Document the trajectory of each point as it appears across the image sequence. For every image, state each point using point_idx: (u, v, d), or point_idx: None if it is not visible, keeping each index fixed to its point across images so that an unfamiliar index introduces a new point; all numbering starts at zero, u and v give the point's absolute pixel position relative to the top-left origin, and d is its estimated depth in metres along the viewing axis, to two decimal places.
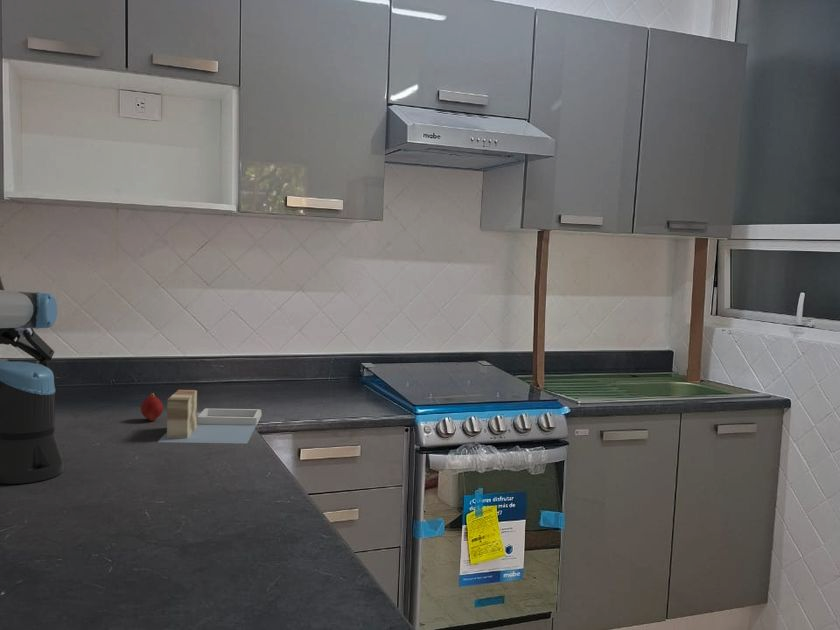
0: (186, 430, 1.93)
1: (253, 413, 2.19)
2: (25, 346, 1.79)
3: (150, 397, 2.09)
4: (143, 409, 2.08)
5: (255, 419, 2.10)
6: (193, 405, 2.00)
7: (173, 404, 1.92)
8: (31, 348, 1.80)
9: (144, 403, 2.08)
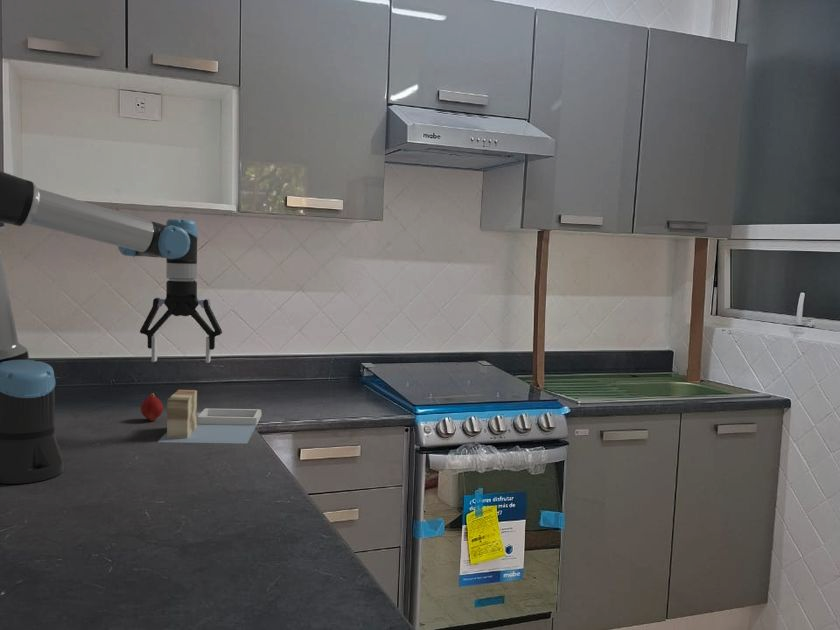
0: (186, 430, 1.93)
1: (253, 413, 2.19)
2: (200, 318, 1.96)
3: (150, 397, 2.09)
4: (143, 409, 2.08)
5: (255, 419, 2.10)
6: (193, 405, 2.00)
7: (173, 404, 1.92)
8: (204, 323, 1.96)
9: (144, 403, 2.08)
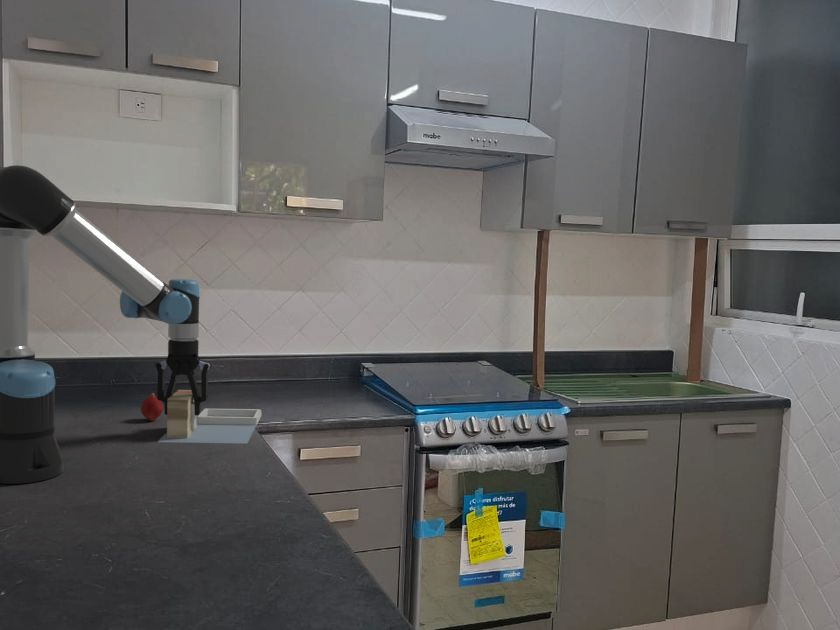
0: (186, 430, 1.93)
1: (253, 413, 2.19)
2: (194, 382, 1.97)
3: (150, 397, 2.09)
4: (143, 409, 2.08)
5: (255, 419, 2.10)
6: None
7: (173, 404, 1.92)
8: (196, 387, 1.98)
9: (144, 403, 2.08)
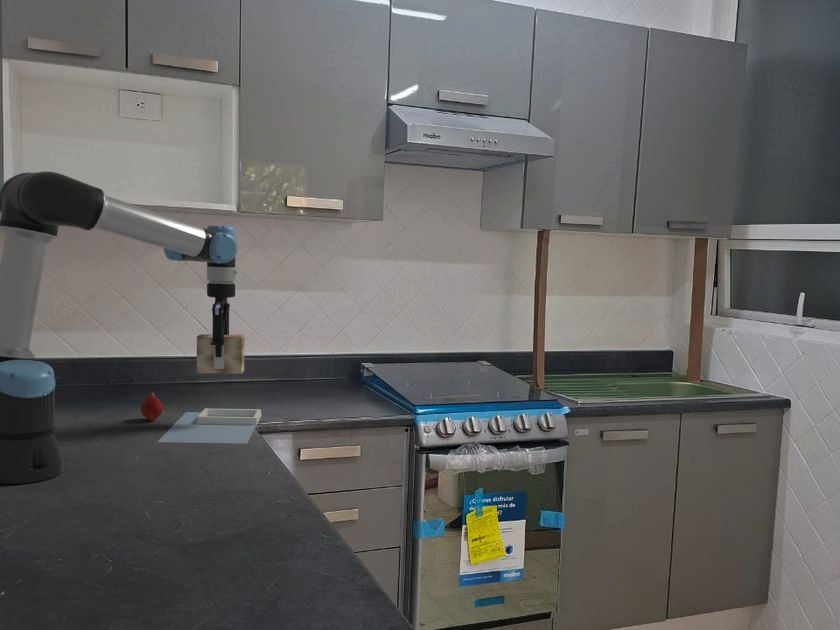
0: (197, 365, 2.06)
1: (253, 413, 2.19)
2: None
3: (150, 397, 2.09)
4: (143, 409, 2.08)
5: (255, 419, 2.10)
6: (224, 348, 2.06)
7: None
8: None
9: (144, 403, 2.08)
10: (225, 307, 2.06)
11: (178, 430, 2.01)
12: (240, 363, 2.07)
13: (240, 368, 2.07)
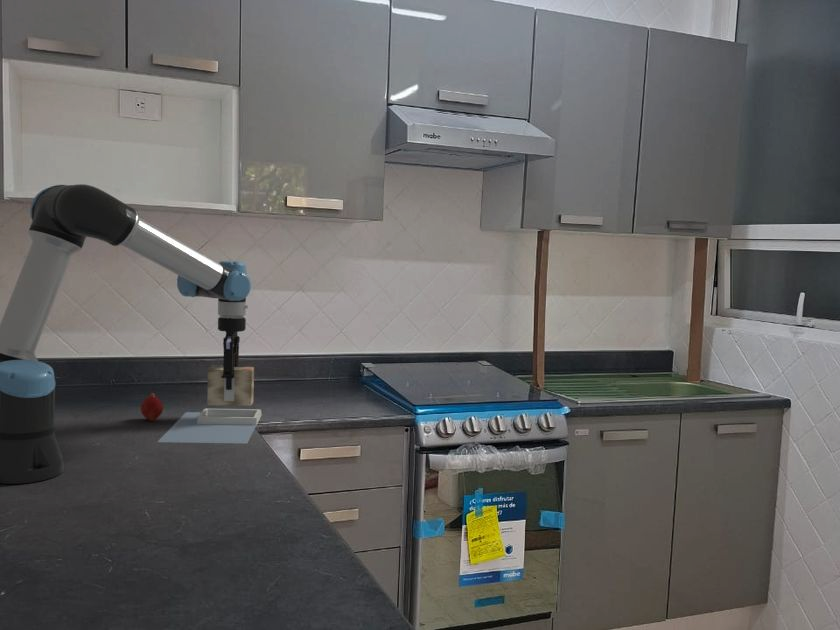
0: None
1: (253, 413, 2.19)
2: None
3: (150, 397, 2.09)
4: (143, 409, 2.08)
5: (255, 419, 2.10)
6: None
7: None
8: None
9: (144, 403, 2.08)
10: (235, 341, 2.11)
11: (178, 430, 2.01)
12: (250, 395, 2.12)
13: (250, 400, 2.12)
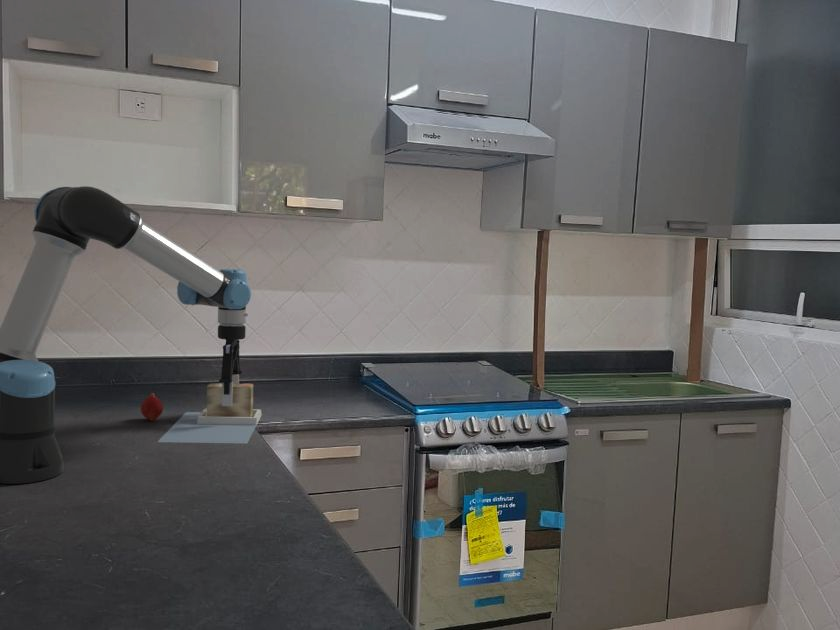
0: (207, 414, 2.11)
1: (253, 413, 2.19)
2: None
3: (150, 397, 2.09)
4: (143, 409, 2.08)
5: (255, 419, 2.10)
6: (233, 397, 2.11)
7: None
8: None
9: (144, 403, 2.08)
10: (235, 348, 2.11)
11: (178, 430, 2.01)
12: (249, 412, 2.12)
13: None
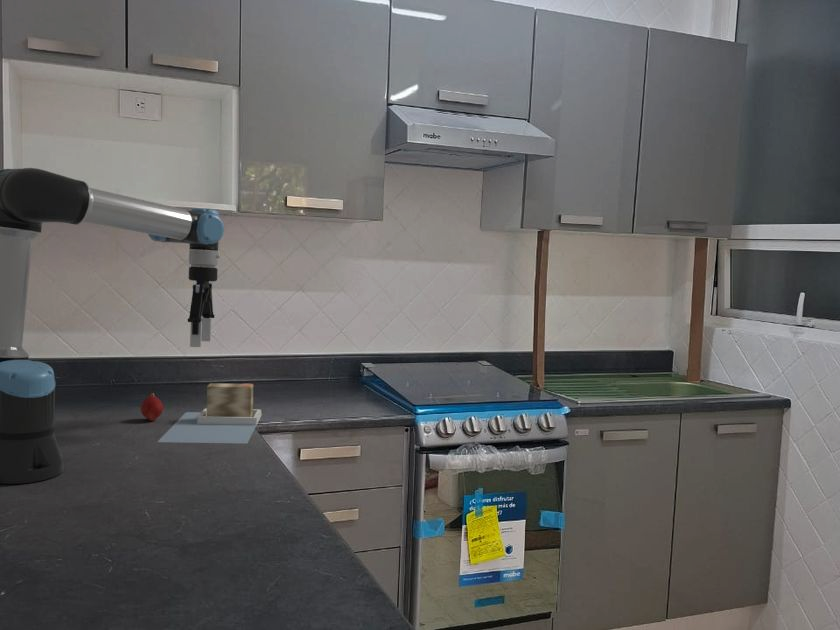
0: (207, 414, 2.11)
1: (253, 413, 2.19)
2: None
3: (150, 397, 2.09)
4: (143, 409, 2.08)
5: (255, 419, 2.10)
6: (233, 397, 2.11)
7: None
8: None
9: (144, 403, 2.08)
10: (206, 290, 2.05)
11: (178, 430, 2.01)
12: (249, 412, 2.12)
13: None
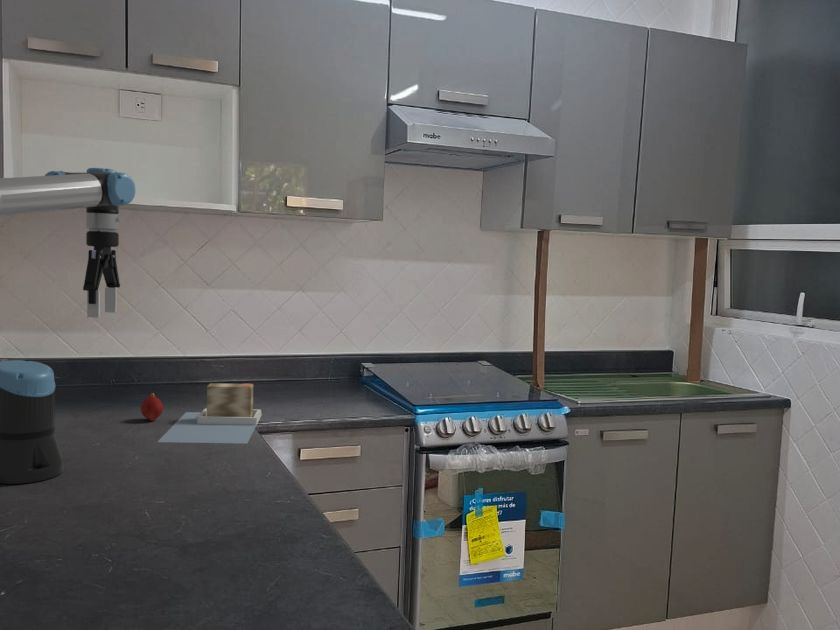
0: (207, 414, 2.11)
1: (253, 413, 2.19)
2: None
3: (150, 397, 2.09)
4: (143, 409, 2.08)
5: (255, 419, 2.10)
6: (233, 397, 2.11)
7: None
8: None
9: (144, 403, 2.08)
10: (106, 256, 1.90)
11: (178, 430, 2.01)
12: (249, 412, 2.12)
13: None
